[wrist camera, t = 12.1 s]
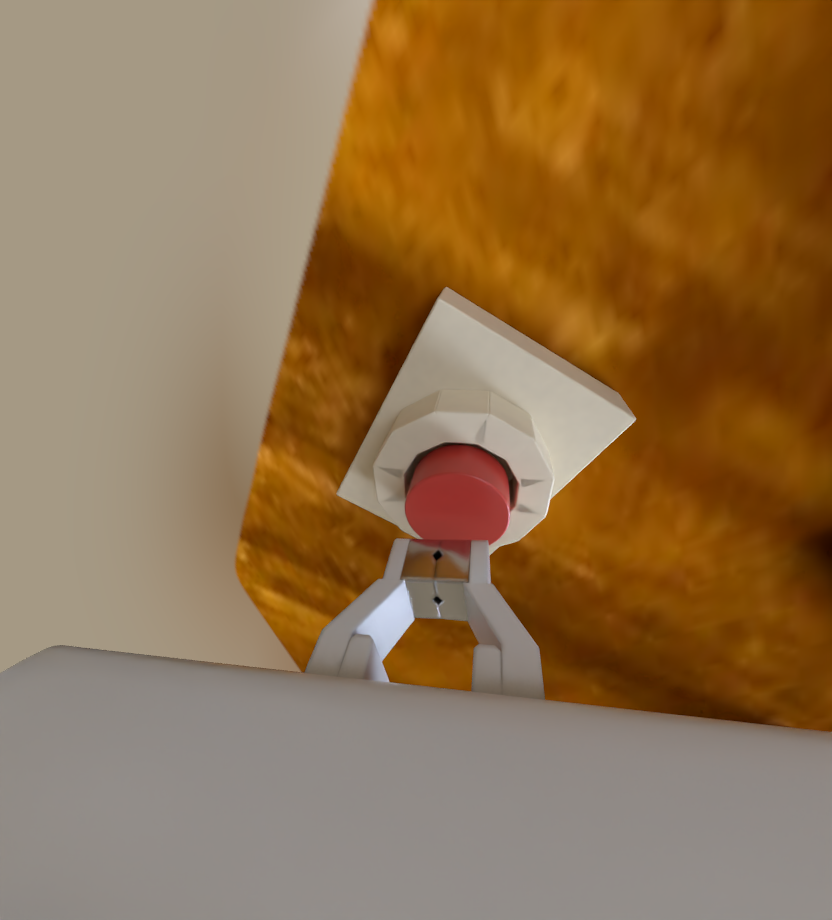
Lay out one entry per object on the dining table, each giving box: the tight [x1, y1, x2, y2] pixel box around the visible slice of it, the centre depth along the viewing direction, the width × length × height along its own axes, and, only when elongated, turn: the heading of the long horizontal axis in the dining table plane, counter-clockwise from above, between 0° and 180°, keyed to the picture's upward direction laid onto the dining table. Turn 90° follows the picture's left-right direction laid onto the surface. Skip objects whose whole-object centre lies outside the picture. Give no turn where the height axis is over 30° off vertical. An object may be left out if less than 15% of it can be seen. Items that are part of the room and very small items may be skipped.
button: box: [405, 445, 510, 545], centre depth 13 cm, size 4×4×2 cm
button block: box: [337, 287, 636, 555], centre depth 15 cm, size 10×8×4 cm
